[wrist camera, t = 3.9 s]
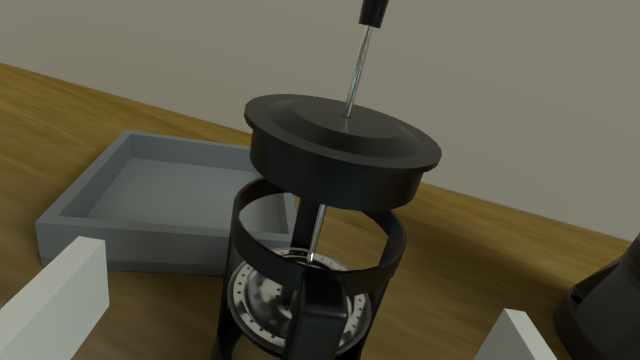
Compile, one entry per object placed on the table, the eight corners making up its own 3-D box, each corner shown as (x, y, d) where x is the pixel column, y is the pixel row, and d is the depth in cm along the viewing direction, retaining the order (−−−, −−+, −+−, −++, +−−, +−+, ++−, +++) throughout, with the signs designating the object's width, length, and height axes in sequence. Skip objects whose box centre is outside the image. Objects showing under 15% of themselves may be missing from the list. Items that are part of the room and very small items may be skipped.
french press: (228, 294, 27) (273, -44, 18) (344, 310, 29) (448, 1, 19) (178, 474, 17) (220, -116, 7) (365, 488, 18) (627, -5, 8)
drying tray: (280, 178, 47) (285, 151, 45) (293, 279, 30) (302, 242, 29) (125, 160, 43) (124, 129, 41) (42, 266, 26) (34, 222, 24)
